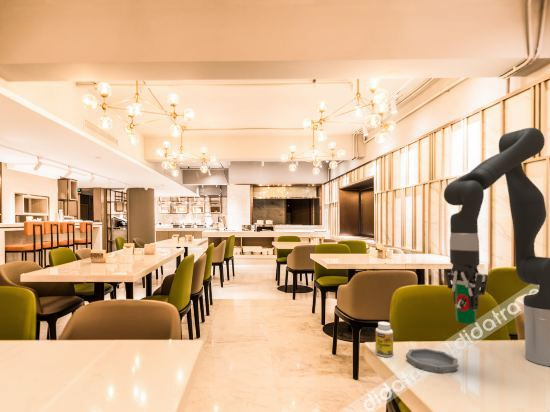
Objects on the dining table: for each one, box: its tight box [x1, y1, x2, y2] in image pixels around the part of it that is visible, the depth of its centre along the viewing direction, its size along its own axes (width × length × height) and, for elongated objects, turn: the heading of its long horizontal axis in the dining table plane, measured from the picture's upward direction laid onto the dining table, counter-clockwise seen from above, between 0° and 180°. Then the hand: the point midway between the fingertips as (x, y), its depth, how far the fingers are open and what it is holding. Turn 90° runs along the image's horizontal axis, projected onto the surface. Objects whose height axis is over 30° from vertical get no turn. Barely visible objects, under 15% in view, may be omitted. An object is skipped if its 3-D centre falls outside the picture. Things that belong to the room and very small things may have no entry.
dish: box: [405, 348, 459, 374], centre depth 103 cm, size 14×14×2 cm
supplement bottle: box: [375, 321, 394, 358], centre depth 110 cm, size 6×6×10 cm
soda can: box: [455, 280, 477, 325], centre depth 96 cm, size 5×5×12 cm
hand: (465, 306), depth 96 cm, fingers closed on soda can, 5 cm apart
